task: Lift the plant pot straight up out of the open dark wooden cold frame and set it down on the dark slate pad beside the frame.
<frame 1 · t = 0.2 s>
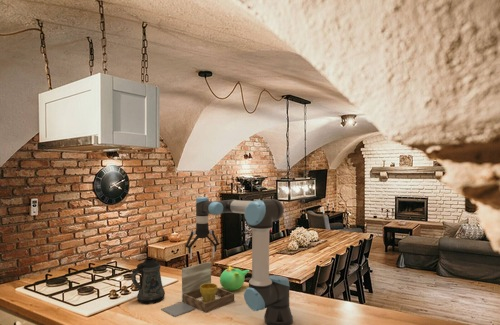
hand: (202, 258, 207), 27 cm above the counter, tool pointing down, fingers open, 13 cm apart
slate pad: (178, 309, 197), on the counter
cold frame: (208, 302, 208), on the counter
beer stein: (149, 300, 211), on the counter
plant pot: (208, 302, 208), resting in cold frame
toy bird: (233, 289, 229), on the counter
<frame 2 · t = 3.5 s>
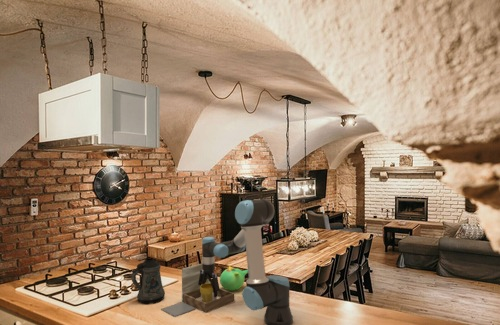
hand: (208, 299, 208), 1 cm above the counter, tool pointing down, fingers closed on plant pot, 10 cm apart
plant pot: (208, 302, 208), resting in cold frame, touching gripper
everything else where it was.
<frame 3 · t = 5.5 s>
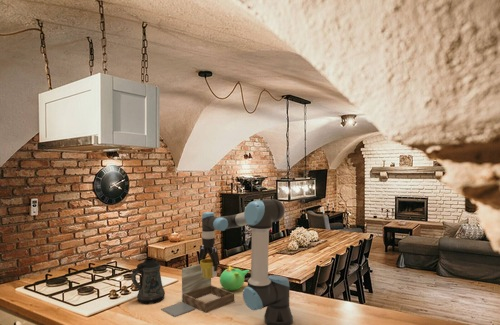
hand: (208, 274, 208), 17 cm above the counter, tool pointing down, fingers closed on plant pot, 10 cm apart
plant pot: (208, 277, 208), point 15 cm above the counter, touching gripper
everything else where it was.
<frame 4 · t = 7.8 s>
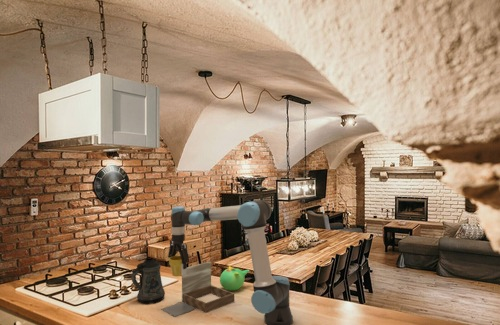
hand: (178, 272, 197), 21 cm above the counter, tool pointing down, fingers closed on plant pot, 10 cm apart
plant pot: (178, 275, 197), point 20 cm above the counter, touching gripper
everything else where it was.
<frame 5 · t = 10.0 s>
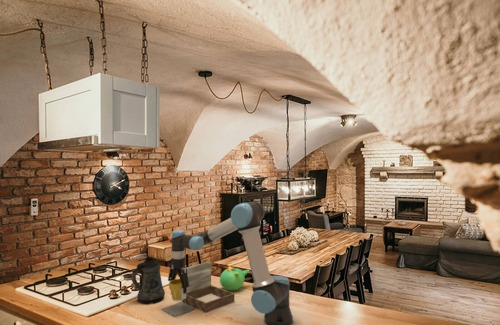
hand: (178, 296, 197), 8 cm above the counter, tool pointing down, fingers closed on plant pot, 10 cm apart
plant pot: (178, 299, 197), point 6 cm above the counter, touching gripper
everything else where it was.
when the fingers open (4 cm above the counter, at t = 11.9 s): plant pot drops 2 cm, resting on slate pad.
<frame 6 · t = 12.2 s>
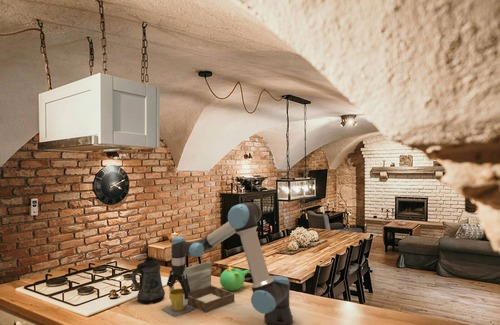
hand: (178, 301, 197), 5 cm above the counter, tool pointing down, fingers open, 13 cm apart
plant pot: (178, 308, 197), resting on slate pad
everything else where it was.
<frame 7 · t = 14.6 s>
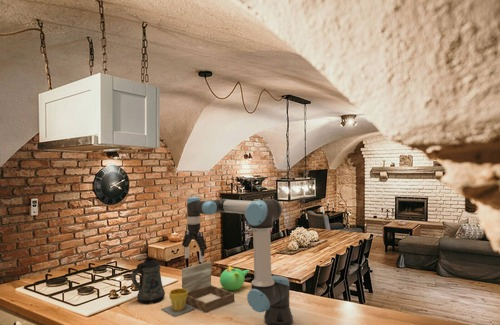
hand: (194, 259, 201), 27 cm above the counter, tool pointing down, fingers open, 13 cm apart
nothing on the counter moved.
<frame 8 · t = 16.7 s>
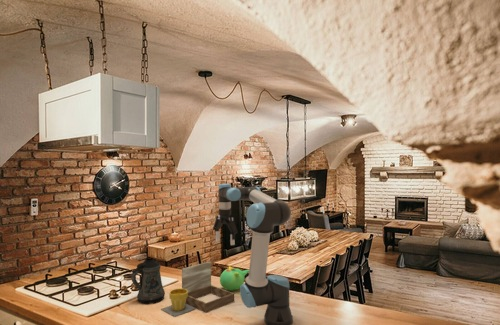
hand: (225, 243, 211), 35 cm above the counter, tool pointing down, fingers open, 13 cm apart
nothing on the counter moved.
at the end: plant pot inside the target area on the slate pad (0.1 cm from its centre), point 0.4 cm above the slate pad's base; plant pot tilted 0°; the gripper is holding nothing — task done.
